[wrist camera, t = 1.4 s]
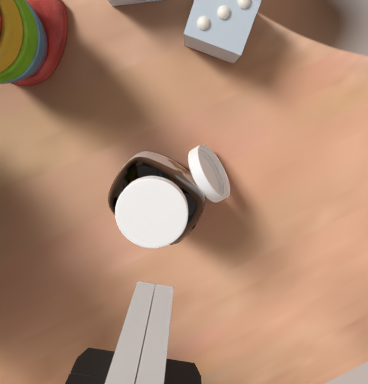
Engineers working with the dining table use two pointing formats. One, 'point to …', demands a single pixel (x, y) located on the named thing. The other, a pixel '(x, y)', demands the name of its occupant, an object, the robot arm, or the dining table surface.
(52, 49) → the stacking bear
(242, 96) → the dining table surface
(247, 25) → the pip block three
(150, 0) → the pip block two
